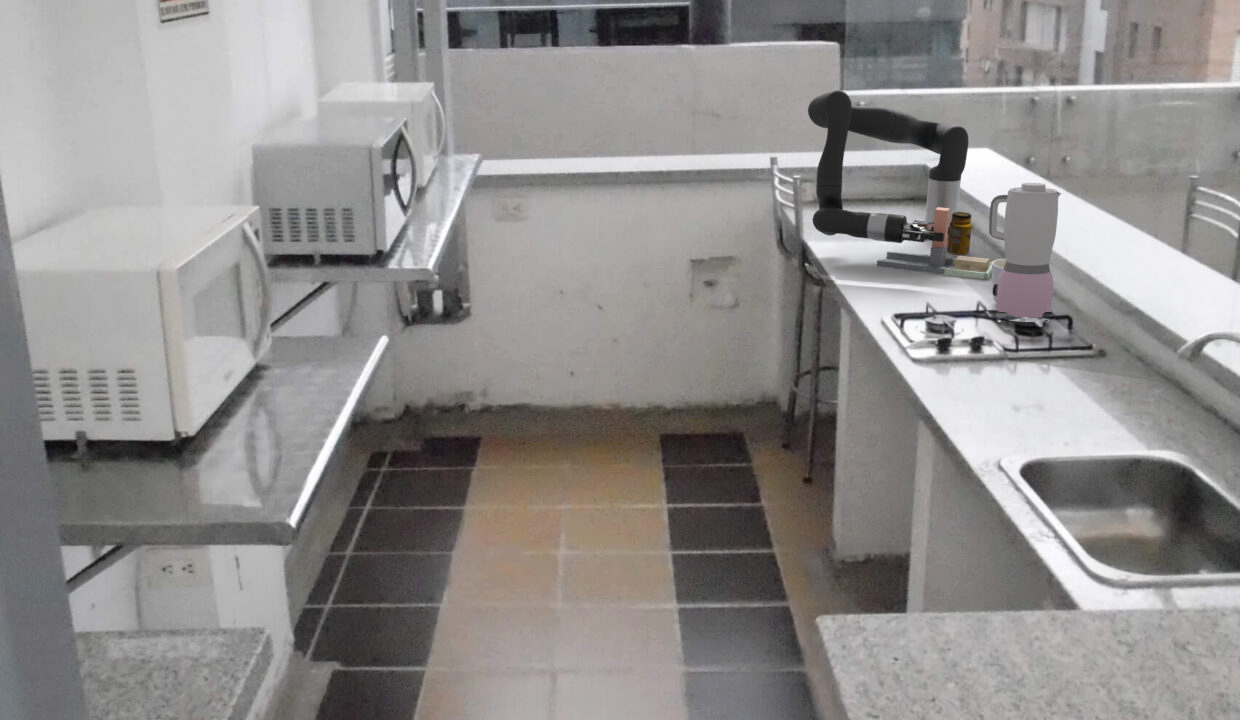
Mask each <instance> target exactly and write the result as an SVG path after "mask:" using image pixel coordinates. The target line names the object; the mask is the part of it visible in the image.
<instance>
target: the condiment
mask: <svg viewBox="0 0 1240 720" xmlns="http://www.w3.org/2000/svg"><path fill="white" fill-rule="evenodd" d="M951 220H952V221H951V223H950V227H951V232H950V234H949V236H948V238H947V253H949V254H951V255H952V254H953V255H968V254H969V252H970V245H971V235H972V229H973V228H972V227H973V225H972V214H971V213H969V212H966V211H965V212H963V211H958V212H955V213H953V214H952V219H951Z"/></svg>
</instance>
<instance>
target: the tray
mask: <svg viewBox="0 0 1240 720" xmlns="http://www.w3.org/2000/svg"><path fill="white" fill-rule="evenodd" d="M953 258H954V259H953V265H954V266H955V260H956V258H957V257H956V258H955V257H953ZM992 262H993V261H989V266H988V269H987V271H986V272H985V273H984V272H976V271H967V270H959V269H955V268H951V267H950V268H945V271H944V274H943V275H946V276H953V277H954V276H955V277H956V276H957V277H963V278H972V279H980V280H988V278H989V277H990V276H992ZM953 265H952V266H953Z"/></svg>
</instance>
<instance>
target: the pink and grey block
mask: <svg viewBox="0 0 1240 720" xmlns="http://www.w3.org/2000/svg"><path fill="white" fill-rule="evenodd" d="M949 216H950V208H941V207H938V208H937V209H935V219H934V230H933V232H938V233H944V240H943V241H942V242H940V241H932V243H931V247H930V253H929V255H930V263H929V265H930V266H939V267H944V266H945V264H946V257H947V253H948V252H947V246H948V238H947V236H948V226H949Z"/></svg>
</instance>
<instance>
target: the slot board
mask: <svg viewBox="0 0 1240 720" xmlns="http://www.w3.org/2000/svg"><path fill="white" fill-rule="evenodd" d="M954 258H955V257H947V256H946V264H945V266H944V267H939V266H930V265H929V263H930V254H929V255H928V254H921V253H920V254H919V253H912V252H911V253H910V252H903V251H896V250H894V251H893V250H887V251H886V257H885V258H884V259H877V261H876V267H879V268H880V267H881V268H889V269H895V270H896V269H897V270H904V271H914V272H921V273H930V274H940V275H945V274H944V271H945V268H950V269H951V267H952V266H953V259H954Z"/></svg>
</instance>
